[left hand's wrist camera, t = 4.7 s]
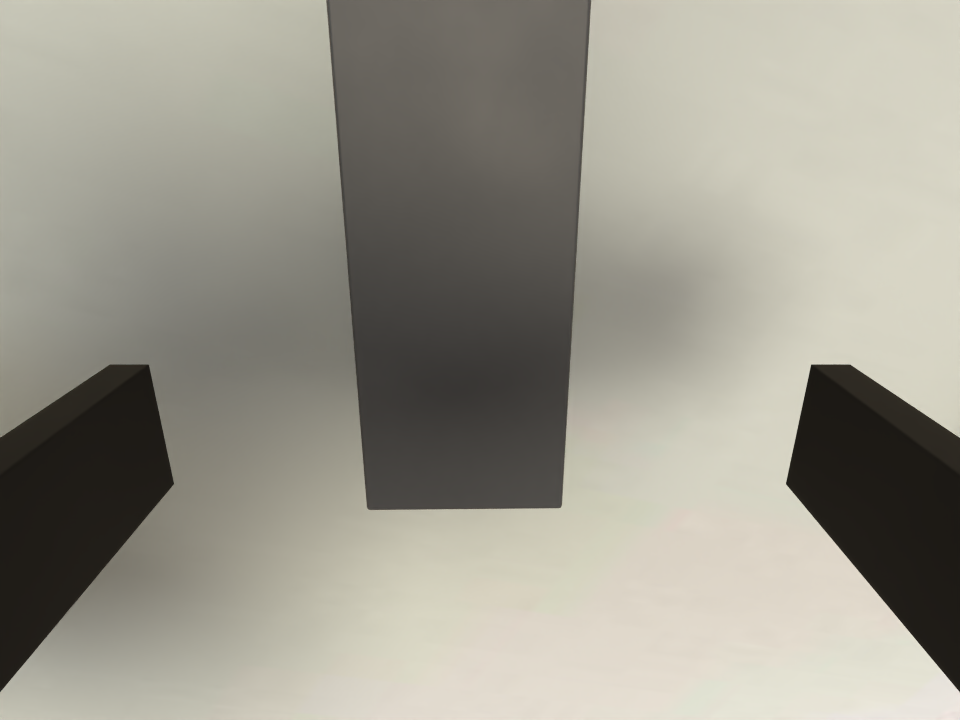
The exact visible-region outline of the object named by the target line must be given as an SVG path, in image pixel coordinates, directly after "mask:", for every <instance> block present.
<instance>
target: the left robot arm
mask: <svg viewBox="0 0 960 720" xmlns="http://www.w3.org/2000/svg"><path fill="white" fill-rule="evenodd" d="M173 485H174V482H173V477H172V472H171V468H170V463H169V458H168V453H167V449H166V444H165V439H164V435H163V430H162V425H161V420H160V416H159V411H158V406H157V401H156V397H155V392H154V387H153V383H152V378H151V373H150V368H149V365H109V366H107V367H106V368H104V369H103V370H101V371H100V372H98V373H97V374H95V375H94V376H92V377H91V378H89V379H88V380H86V381H85V382H83V383H82V384H80V385H79V386H77V387H76V388H74V389H73V390H71V391H70V392H68V393H67V394H65V395H64V396H62V397H61V398H59V399H58V400H56V401H55V402H53V403H52V404H50V405H49V406H47V407H46V408H44V409H43V410H41V411H40V412H38V413H37V414H35V415H34V416H32V417H31V418H29V419H28V420H26V421H25V422H23V423H22V424H20V425H19V426H17V427H16V428H14V429H13V430H11V431H10V432H8V433H7V434H5V435H4V436H2V437H1V438H0V692H1V690H2V689H3V688H4V687H5V686H6V684H7V683H8V682H9V681H10V680H11V678H12V677H13V676H14V675H15V674H16V672H17V671H18V670H19V669H20V668H21V666H22V665H23V664H24V663H25V662H26V660H27V659H28V658H29V657H30V656H31V654H32V653H33V652H34V651H35V650H36V649H37V647H38V646H39V645H40V644H41V643H42V641H43V640H44V639H45V638H46V637H47V635H48V634H49V633H50V632H51V631H52V629H53V628H54V627H55V626H56V625H57V623H58V622H59V621H60V620H61V619H62V617H63V616H64V615H65V614H66V613H67V611H68V610H69V609H70V608H71V607H72V605H73V604H74V603H75V602H76V601H77V599H78V598H79V597H80V596H81V595H82V593H83V592H84V591H85V590H86V589H87V587H88V586H89V585H90V584H91V583H92V581H93V580H94V579H95V578H96V577H97V575H98V574H99V573H100V572H101V571H102V570H103V568H104V567H105V566H106V565H107V564H108V562H109V561H110V560H111V559H112V558H113V556H114V555H115V554H116V553H117V552H118V550H119V549H120V548H121V547H122V546H123V544H124V543H125V542H126V541H127V540H128V538H129V537H130V536H131V535H132V534H133V532H134V531H135V530H136V529H137V528H138V526H139V525H140V524H141V523H142V522H143V520H144V519H145V518H146V517H147V516H148V514H149V513H150V512H151V511H152V510H153V508H154V507H155V506H156V505H157V504H158V502H159V501H160V500H161V499H162V498H163V496H164V495H165V494H166V493H167V492H168V491H169V489H170V488H171V487H172V486H173ZM786 485H787V486H788V487H789V488H790V489H791V491H792V492H793V493H794V494H795V495H796V496H797V498H798V499H799V500H800V501H801V502H802V504H803V505H804V506H805V507H806V508H807V510H808V511H809V512H810V513H811V514H812V516H813V517H814V518H815V519H816V520H817V522H818V523H819V524H820V525H821V526H822V528H823V529H824V530H825V531H826V532H827V534H828V535H829V536H830V537H831V538H832V540H833V541H834V542H835V543H836V544H837V546H838V547H839V548H840V549H841V550H842V552H843V553H844V554H845V555H846V556H847V558H848V559H849V560H850V561H851V562H852V564H853V565H854V566H855V567H856V568H857V570H858V571H859V572H860V573H861V574H862V575H863V577H864V578H865V579H866V580H867V581H868V583H869V584H870V585H871V586H872V587H873V589H874V590H875V591H876V592H877V593H878V595H879V596H880V597H881V598H882V599H883V601H884V602H885V603H886V604H887V605H888V607H889V608H890V609H891V610H892V611H893V613H894V614H895V615H896V616H897V617H898V619H899V620H900V621H901V622H902V623H903V625H904V626H905V627H906V628H907V629H908V631H909V632H910V633H911V634H912V635H913V637H914V638H915V639H916V640H917V641H918V643H919V644H920V645H921V646H922V647H923V649H924V650H925V651H926V652H927V653H928V654H929V656H930V657H931V658H932V659H933V660H934V662H935V663H936V664H937V665H938V666H939V668H940V669H941V670H942V671H943V672H944V674H945V675H946V676H947V677H948V678H949V680H950V681H951V682H952V683H953V684H954V686H955V687H956V688H957V689H958V690H959V692H960V438H959V437H958V436H956V435H955V434H953V433H952V432H950V431H949V430H947V429H946V428H944V427H943V426H941V425H940V424H938V423H937V422H935V421H934V420H932V419H931V418H929V417H928V416H926V415H925V414H923V413H922V412H920V411H919V410H917V409H916V408H914V407H913V406H911V405H910V404H908V403H907V402H905V401H904V400H902V399H901V398H899V397H898V396H896V395H895V394H893V393H892V392H890V391H889V390H887V389H886V388H884V387H883V386H881V385H880V384H878V383H877V382H875V381H874V380H872V379H871V378H869V377H868V376H866V375H865V374H863V373H862V372H860V371H859V370H857V369H856V368H854V367H853V366H851V365H811V368H810V373H809V378H808V383H807V387H806V392H805V397H804V401H803V406H802V411H801V416H800V420H799V425H798V430H797V435H796V439H795V444H794V449H793V453H792V458H791V463H790V468H789V472H788V477H787V482H786Z"/></svg>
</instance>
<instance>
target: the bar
mask: <svg viewBox="0 0 960 720" xmlns="http://www.w3.org/2000/svg"><path fill="white" fill-rule="evenodd" d="M590 9H591V0H327V13H328V25H329V38H330V50H331V63H332V75H333V88H334V100H335V113H336V125H337V138H338V150H339V163H340V175H341V188H342V200H343V213H344V225H345V238H346V250H347V263H348V275H349V288H350V300H351V313H352V325H353V338H354V350H355V363H356V375H357V388H358V400H359V413H360V425H361V438H362V450H363V463H364V475H365V488H366V500H367V508H368V509H369V510H396V509H509V508H561V506H562V493H563V475H564V458H565V441H566V423H567V406H568V389H569V372H570V354H571V337H572V320H573V303H574V285H575V268H576V251H577V233H578V216H579V199H580V182H581V164H582V147H583V130H584V113H585V95H586V78H587V61H588V44H589V26H590Z"/></svg>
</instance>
